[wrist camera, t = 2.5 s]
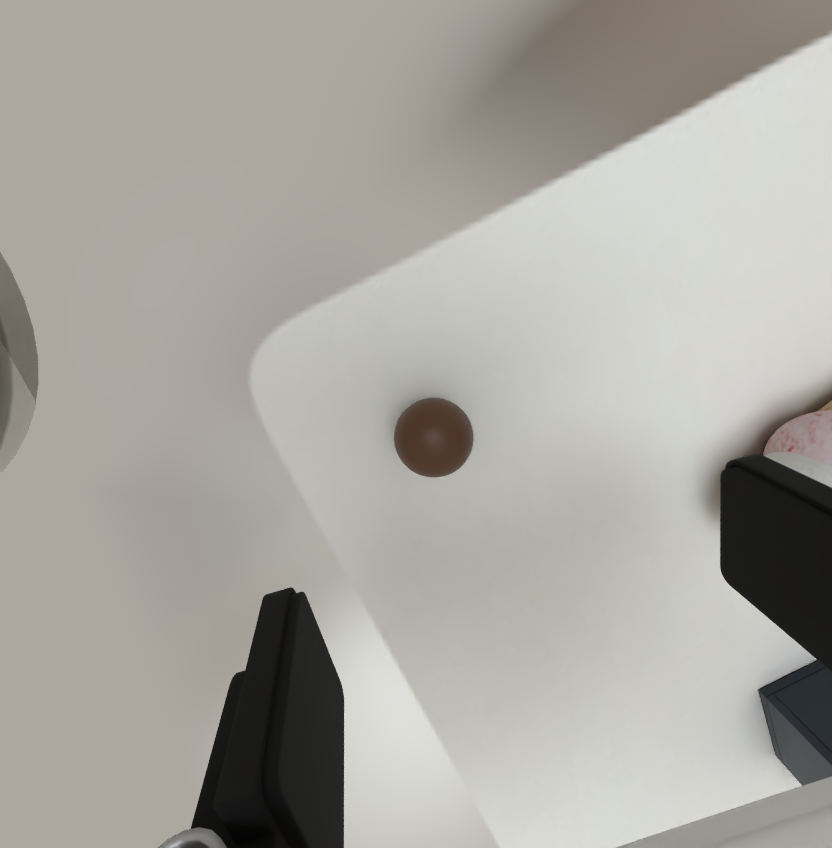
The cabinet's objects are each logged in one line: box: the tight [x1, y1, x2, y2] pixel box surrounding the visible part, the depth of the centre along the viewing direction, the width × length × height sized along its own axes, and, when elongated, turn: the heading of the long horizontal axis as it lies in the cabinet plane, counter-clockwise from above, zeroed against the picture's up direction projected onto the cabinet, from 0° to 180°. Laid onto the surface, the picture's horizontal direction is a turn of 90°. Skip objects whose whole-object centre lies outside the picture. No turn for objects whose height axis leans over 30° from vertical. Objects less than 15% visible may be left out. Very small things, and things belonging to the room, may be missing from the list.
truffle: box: [394, 398, 473, 477], centre depth 18 cm, size 3×3×3 cm
